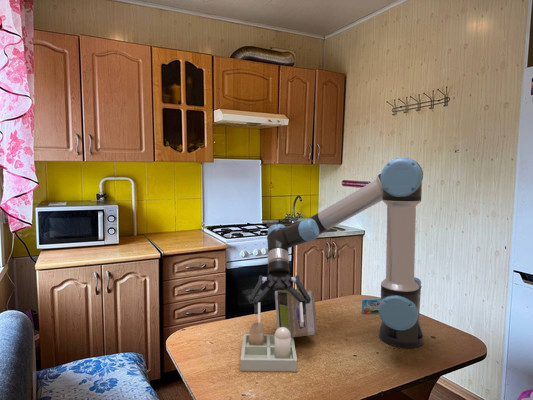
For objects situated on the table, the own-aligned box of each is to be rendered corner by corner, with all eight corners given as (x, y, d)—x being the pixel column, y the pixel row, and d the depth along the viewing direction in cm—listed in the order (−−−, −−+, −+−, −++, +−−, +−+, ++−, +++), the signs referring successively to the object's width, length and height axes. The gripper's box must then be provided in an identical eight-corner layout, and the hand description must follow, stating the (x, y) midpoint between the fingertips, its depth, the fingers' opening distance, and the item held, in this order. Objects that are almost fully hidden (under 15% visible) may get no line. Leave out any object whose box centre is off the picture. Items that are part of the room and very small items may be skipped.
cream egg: (289, 355, 119) (290, 324, 118) (290, 364, 114) (291, 331, 113) (274, 355, 119) (274, 324, 118) (274, 364, 114) (275, 331, 113)
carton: (292, 344, 129) (293, 318, 128) (296, 371, 112) (297, 341, 111) (243, 343, 129) (243, 317, 128) (240, 370, 112) (240, 340, 111)
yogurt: (388, 311, 159) (389, 297, 159) (390, 313, 158) (390, 299, 157) (361, 313, 158) (362, 298, 157) (363, 314, 156) (363, 300, 155)
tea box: (301, 328, 142) (318, 335, 128) (276, 331, 139) (291, 338, 125) (298, 288, 144) (314, 290, 130) (273, 290, 141) (288, 293, 127)
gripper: (312, 269, 134) (318, 327, 121) (243, 269, 134) (241, 328, 120) (314, 258, 129) (321, 318, 115) (242, 259, 128) (240, 319, 115)
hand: (280, 323), depth 118 cm, fingers open, 13 cm apart
